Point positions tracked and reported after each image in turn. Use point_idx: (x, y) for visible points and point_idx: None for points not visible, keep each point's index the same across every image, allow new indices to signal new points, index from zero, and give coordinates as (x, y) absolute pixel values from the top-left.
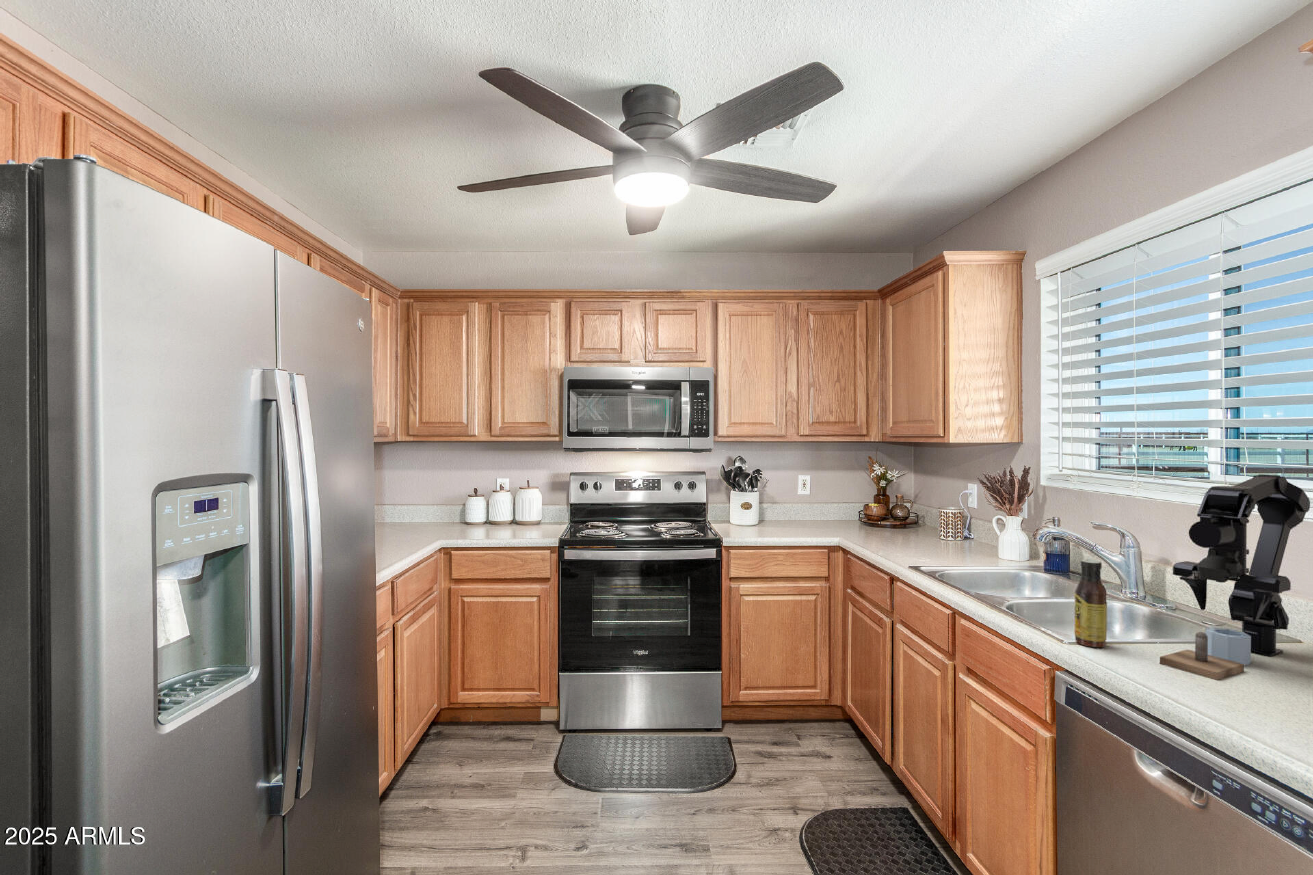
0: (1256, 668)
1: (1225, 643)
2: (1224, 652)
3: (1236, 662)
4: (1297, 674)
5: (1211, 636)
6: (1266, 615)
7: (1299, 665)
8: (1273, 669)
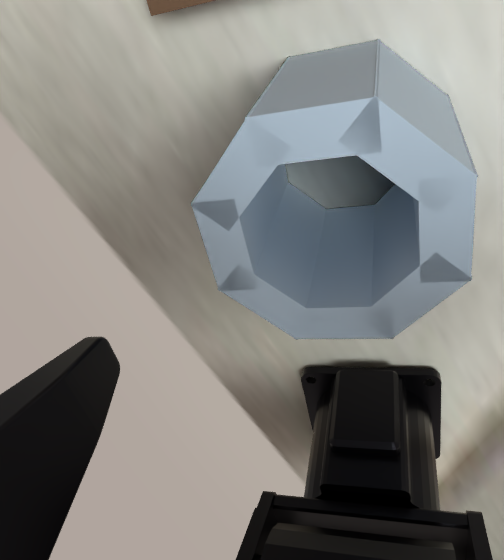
0: (201, 146)
1: (278, 94)
2: (295, 70)
3: (187, 1)
4: (115, 234)
5: (383, 89)
6: (265, 545)
7: (203, 351)
8: (178, 210)
